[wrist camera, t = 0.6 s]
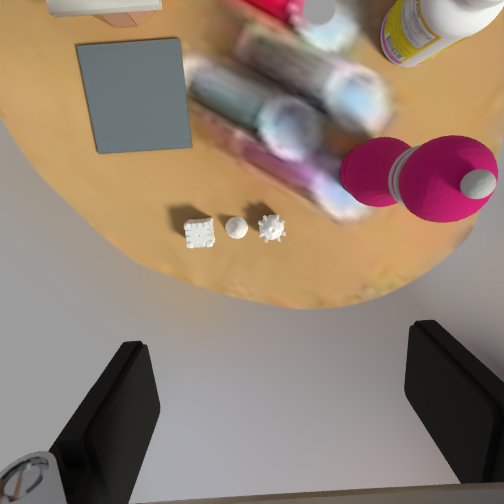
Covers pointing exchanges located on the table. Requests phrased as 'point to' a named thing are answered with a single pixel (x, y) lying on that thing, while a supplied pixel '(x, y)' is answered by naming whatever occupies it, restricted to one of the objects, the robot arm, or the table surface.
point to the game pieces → (231, 230)
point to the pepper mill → (422, 176)
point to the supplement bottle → (432, 27)
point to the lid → (99, 7)
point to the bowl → (125, 18)
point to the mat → (136, 95)
